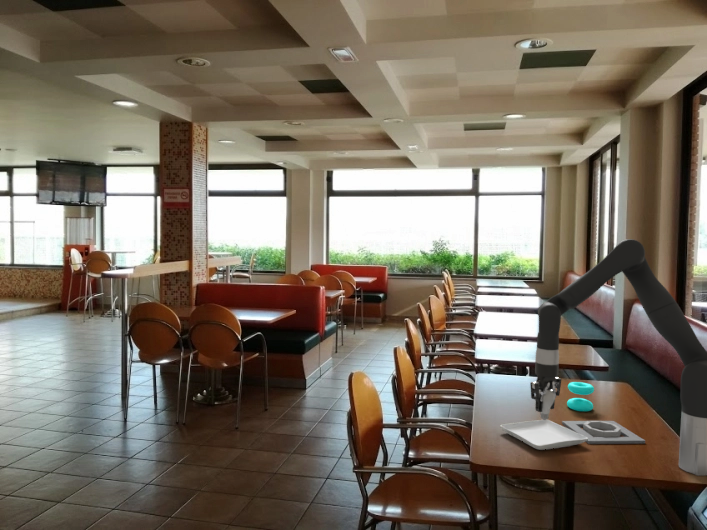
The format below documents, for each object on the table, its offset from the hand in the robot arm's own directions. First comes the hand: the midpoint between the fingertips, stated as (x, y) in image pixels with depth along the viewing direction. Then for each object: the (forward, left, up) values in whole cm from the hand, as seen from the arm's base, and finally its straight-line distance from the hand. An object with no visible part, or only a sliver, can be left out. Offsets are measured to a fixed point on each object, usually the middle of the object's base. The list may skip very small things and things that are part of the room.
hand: (544, 409), depth 191 cm
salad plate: (0, 0, -11) cm, 11 cm away
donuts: (+34, -30, -11) cm, 46 cm away
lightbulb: (0, 0, -4) cm, 4 cm away
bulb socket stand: (+6, -24, -10) cm, 27 cm away
